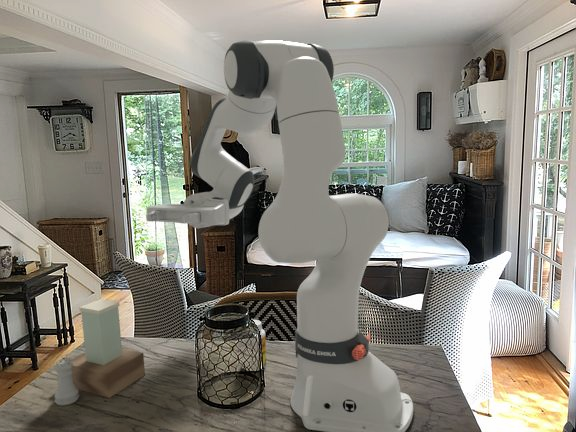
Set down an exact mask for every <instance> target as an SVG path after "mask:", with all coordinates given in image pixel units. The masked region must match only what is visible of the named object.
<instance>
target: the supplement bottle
mask: <svg viewBox="0 0 576 432" xmlns="http://www.w3.org/2000/svg"><path fill="white" fill-rule="evenodd" d="M252 320H253V321H254V322H255V324H256V325H257V327H258V329H259V331H260V335H261V344H262V352H263V365H264V369H265V368H266V366H267V351H266V350H267V346H266V343H267V341H266V332H265V330H264V329H263V326H262V322H261V321H260V320H259V319H252Z"/></svg>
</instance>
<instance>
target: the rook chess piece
mask: <svg viewBox="0 0 576 432" xmlns="http://www.w3.org/2000/svg"><path fill="white" fill-rule="evenodd" d="M70 360H71V359H70V358H64V360H63V359H59V361H56V362H55V364H56V365H55V367H54V370H55V371H56V372H57V374H56V377H57V380H58V382H57V388H56V392H55V393H54V403H56V404H57V405H58V406H61V407H62V406H69V405H72V404H74V403H75V402H77V400H78V399H79V398H80V393H79V391H80V390H79V389H78V388H77V387H76V385H74V383H73V379H72V373H73V371H71V368H72V366H73V364H72V363H71V361H70Z"/></svg>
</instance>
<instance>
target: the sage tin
mask: <svg viewBox="0 0 576 432" xmlns="http://www.w3.org/2000/svg"><path fill="white" fill-rule="evenodd" d="M120 306H121V305H120V301H113V300H107V299H101V298H100V299H96V300H94V301H92V302H89V303H86V304H84V305H82V306H79V307H78V308H79V312H81V314H80V315H81V321H82V322H81V323H82V333H83V334H82V335H83V343H84V353H85V355H86V361H88V362H93V363H97V364H101V365H105V364H107V363H109V362H111V361H113V360H114V359H116V358H118V357H120V356H121V355H122V348H123V347H122V336H121V335H122V334H121V324H120V313H119V307H120Z"/></svg>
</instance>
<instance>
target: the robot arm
mask: <svg viewBox="0 0 576 432" xmlns="http://www.w3.org/2000/svg"><path fill="white" fill-rule="evenodd" d="M224 56H225V57H224V59H223V60H224V61H223V75H224V80H225V85H226V86H227V89H228V94H227V96H226V97H223V98H221V99H219V100H218V101H217V102H216V103H215V104H214V106H213V107H212V109H211V111H210V113H209V115H208V118H207V120H206V123H205V126H204V128H203V130H202V133H201V136H200V138H199V141H198V144H197V146H196V147H195V149H194V150H193V152H192V154H191V156H190V161H189V162H190V163H189V164H190V170H191V172H192V174H193V175H195V176H196V177H198V178H199V179H200V180H203V181H204V182H206V183H207V184H208V185H209V186H211V187H212V188H213V189H212V190H210V191H204V192H198V193H193V194H190V195H188V196H187V197H186V198H185V200H184V201H183V204H182V203H163V204H156V205H150V206H147V207H146V215H145V218H146V219H145V220H146V221H147V222H160V223H161V222H162V223H175V224H184V225H185V224H188V225H189V226H190V227H192V228H194V229H202V228H203V229H204V228H209V227H212V226H213V227H214V226H226V225H227V226H228V225H229V224H230V220H231V219H234V218H235V217H236V216H238V215H239V214H240V213H241V212H242V210H243V209H244V206H245V204H246V203H247V202H248V200H249V199H250V197H251V196H252V194H253V192H254V190H255V189H254V188H255V176H254V173H253V171H252V170H250V169H249V168H248V167H247V166H245V165H244V164H243V163H241V162H240V161H238V160H237V159H236V158H235V157H233V156H232V155H231V154H229V153H228V152H227V151H226V150H225V149H224V148H223V146H222V141H223V139H224V136H225V134H226V131H227V130H229V131H232V132H235V133H237V134H238V133H239V134H244V135H245V134H246V135H247V134H248V135H250V134H255V133H259V132H260V131H263V130H264V129H265V128H266V127H268V126H269V124H270V123H271V121H272V120H273V117H274V115H275V112H276V115H277V121H278V123H277V124H278V129H279V136H280V137H279V138H280V144H281V151H282V152H281V153H282V165H283V166H282V167H283V168H282V169H283V170H282V177H281V182H280V186H279V189H278V191H277V193H276V196H275V197H274V199H273V201H272V202H271V204H270V205H268V207H267V208H266V209H265V210H264V211H263V213H262V215H261V218H260V220H259V223H258V232H257V233H258V234H257V235H258V240H259V242H260V246H261V248H262V250H263V252H264V253H265V254H266V255H267V256H268V258H269V259H271V260H272V261H273V262H275V263H279V264H280V263H282V264H305V263H310V262H311V263H312V262H316V264H315V266H314V268H313V269H312V271H311V273H310V274H309V275H308V276H307V277H306V278H305V279H304V280H303V281H302V282H301V284H300V285H299V287H298V289H297V292H296V317H297V318H296V319H297V323H296V325H297V328H296V329H295V334H294V338H295V339H294V340H295V341H294V348H295V349H294V350H295V357H296V370H295V373H296V374H295V379H294V386H293V391H292V392H291V393H292V394H291V397H290V406H291V408H292V410H293V412H294V413H296V414H297V416H299V417H300V419H301V420H302V421H301V422H302V423H303V426H304V427H305V428H306V429H307V430H310V431H311V430H312V431H318V432H319V431H320V432H406V431H407V429H408V428H409V427H410V424H411V423H412V420H413V418H414V403H413V400H412V398H411V397H410V395H409V394H407V393H405V392H402V391H401V387H400V382H399V378H398V376H397V374H396V373H395V371H394V370H393V369H391V368H390V367H389V366H388V365H387V364H385V363H384V362H383V361H381V360H380V359H379V358H377V357H376V356H375V355H374V354H373V353H372V352H370V351H369V349H370V347H369V342H370V341H371V333H368V334H367V335H366V336H365V335H364V334H363V333H362V331H360V329H359V324H358V323H359V298H360V297H359V296H360V288H361V284H362V280H363V277H364V274H365V270H366V268H367V265H368V263H369V261H370V259H371V256H373V253H374V252H375V250H376V248H378V246H379V245H380V244H381V243H382V242H383V241H384V239H385V238H386V236H387V234H388V231H389V224H390V223H389V222H390V221H389V216H388V212H387V209H386V207H385V205H384V204H383V203H382V202H381V200H380V199H378V198H377V197H375V196H371V195H366V194H361V193H343V194H342V193H341V194H334V195H330V193H329V187H330V181H331V180H330V179H331V177H332V174H333V173H334V172H336V170H338V169H339V168H340V167H341V166H342V165H343V163H344V160H346V159H345V158H346V151H347V150H346V146H345V139H344V134H343V128H342V122H341V121H342V120H341V115H340V110H339V104H338V101H337V96H336V92H335V89H334V88H335V87H334V85H333V83H332V82H333V80H334V79H333V78H334V72H335V68H334V61H333V59H332V56H331V53H329V51H328V50H327V49H326V48H324V47H323V46H321V45H319V44H318V45H317V44H315V43H306V44H305V43H301V42H300V43H299V42H293V41H283V40H281V39H280V40H279V39H277V40H275V39H274V40H273V39H272V40H271V39H270V40H268V39H267V40H256V41H255V40H254V41H252V40H251V39H247V40H241V41H236V42H234V43H232V44H231V45H230V47H228V49H227V51H226V53H225V55H224Z"/></svg>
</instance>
